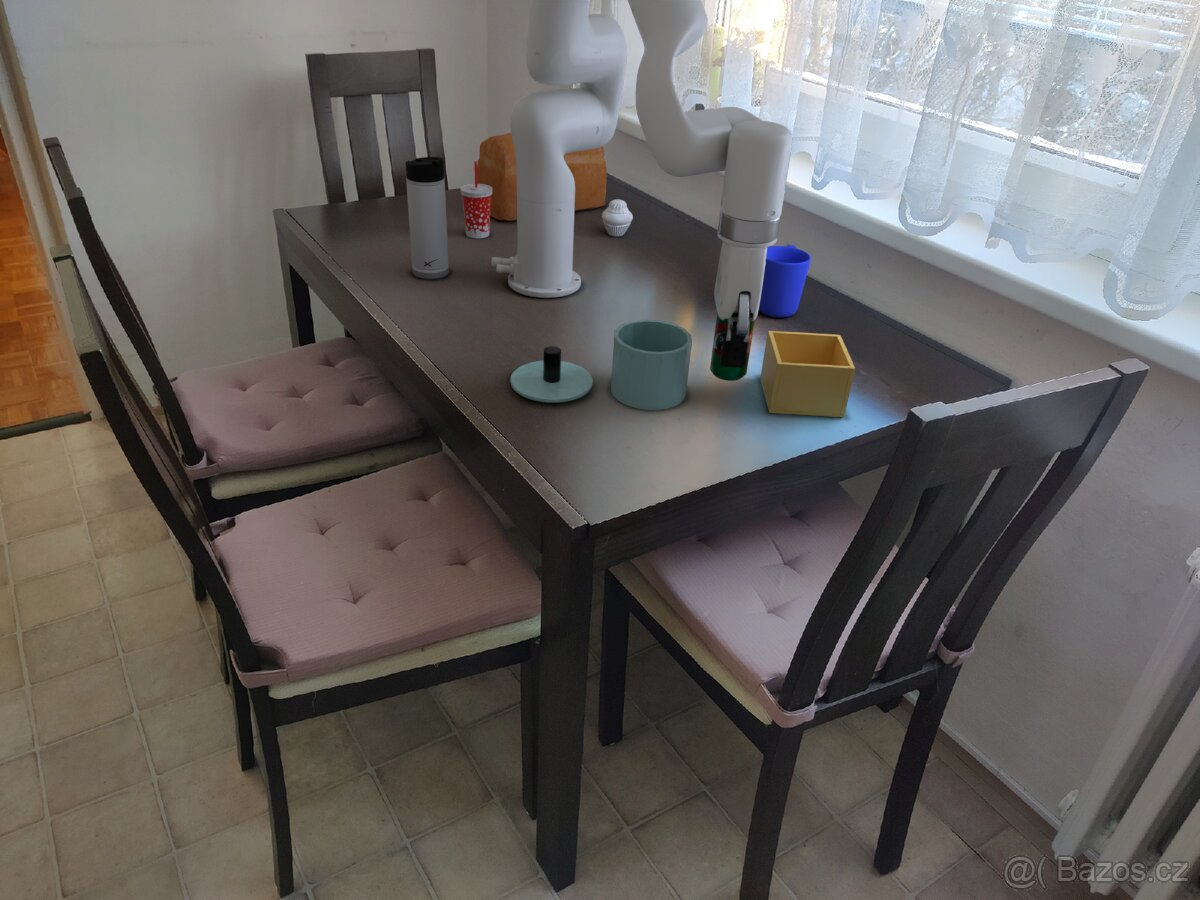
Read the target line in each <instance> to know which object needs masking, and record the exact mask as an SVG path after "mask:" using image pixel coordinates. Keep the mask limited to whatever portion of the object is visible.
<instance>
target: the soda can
mask: <svg viewBox="0 0 1200 900" xmlns="http://www.w3.org/2000/svg"><path fill="white" fill-rule="evenodd" d="M732 316H733V317H738V313H733V314H732ZM755 321H756V319H755V320H754V321H751V320H750V325H749V335H748V347H747V354H746V360H745V366H744V367H743V368H737V367H722V366H721V363H720V362H721V354H722V347H723V339H724V338H726V333H727V323H728V319H724V320H721V319H720V318H719V316H718V313H717V312H716V318H715V326H714V333H713V334H714V335H713V341H712V348H711V357H710V363H709V364H710V366H709V370H710V372H711V374H712V375H713V376H714V377H716V378H717V379H718V380H722V381H726V382H728V381H729V382H735V381H739V380H741V379H743V378H744V377H745V376H746V375H747V373H748V367H749V360H750V355H751V348H752V341H753V335H754V328H755ZM736 325H737V322H733V324H732V329H733V327H736Z"/></svg>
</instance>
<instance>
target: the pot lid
mask: <svg viewBox="0 0 1200 900" xmlns="http://www.w3.org/2000/svg"><path fill="white" fill-rule="evenodd" d="M542 359H543V360H537V361H532V362H528V363H525V364H523V365H521V366H519V367H517V368H516V369H515V370H514V371H512V373H511V376H510V386H511V388H512V389H513V391H514V392H515V393H517V394H518V395H520V396H522V397H524V398H526V399H529V400H532V401H535V402H541V403H565V402H571V401H574V400H578V399H580V398H582V397H584V396H586V395H587V394H588V393H589V392H590V391H591V390H592V388H593V385H594V384H593V383H594V380H593V376H592V374H591V373H590V372H589V371H588V370H587V369H585V368H584V367H582V366H580V365H578V364H575V363H572V362H568V361H564V360H562V349H561V347H559V346H556V345H550V346H546V347H544V348H543V358H542Z"/></svg>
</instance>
